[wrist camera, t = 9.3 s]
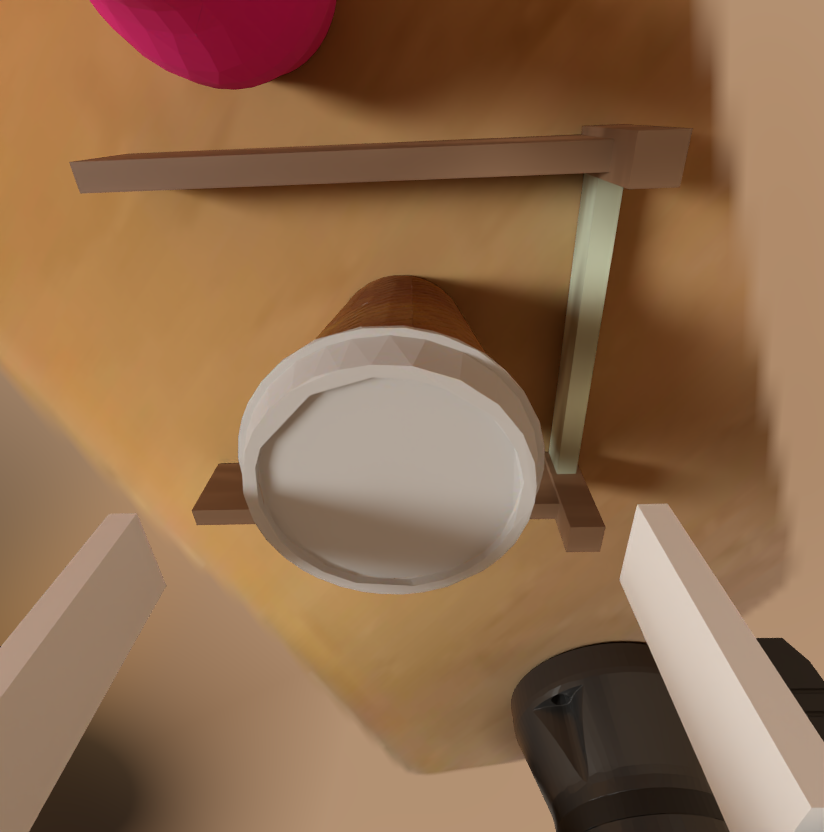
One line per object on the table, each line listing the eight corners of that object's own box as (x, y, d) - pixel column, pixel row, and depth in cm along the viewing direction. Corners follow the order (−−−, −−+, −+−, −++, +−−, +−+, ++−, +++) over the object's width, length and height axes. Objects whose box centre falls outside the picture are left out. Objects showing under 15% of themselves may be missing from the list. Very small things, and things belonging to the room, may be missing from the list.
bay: (568, 474, 29) (600, 551, 24) (223, 481, 30) (183, 558, 25) (622, 124, 20) (692, 128, 15) (124, 145, 21) (26, 157, 16)
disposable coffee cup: (472, 209, 22) (518, 298, 12) (515, 394, 26) (575, 572, 16) (272, 274, 23) (157, 402, 13) (347, 437, 28) (305, 625, 18)
